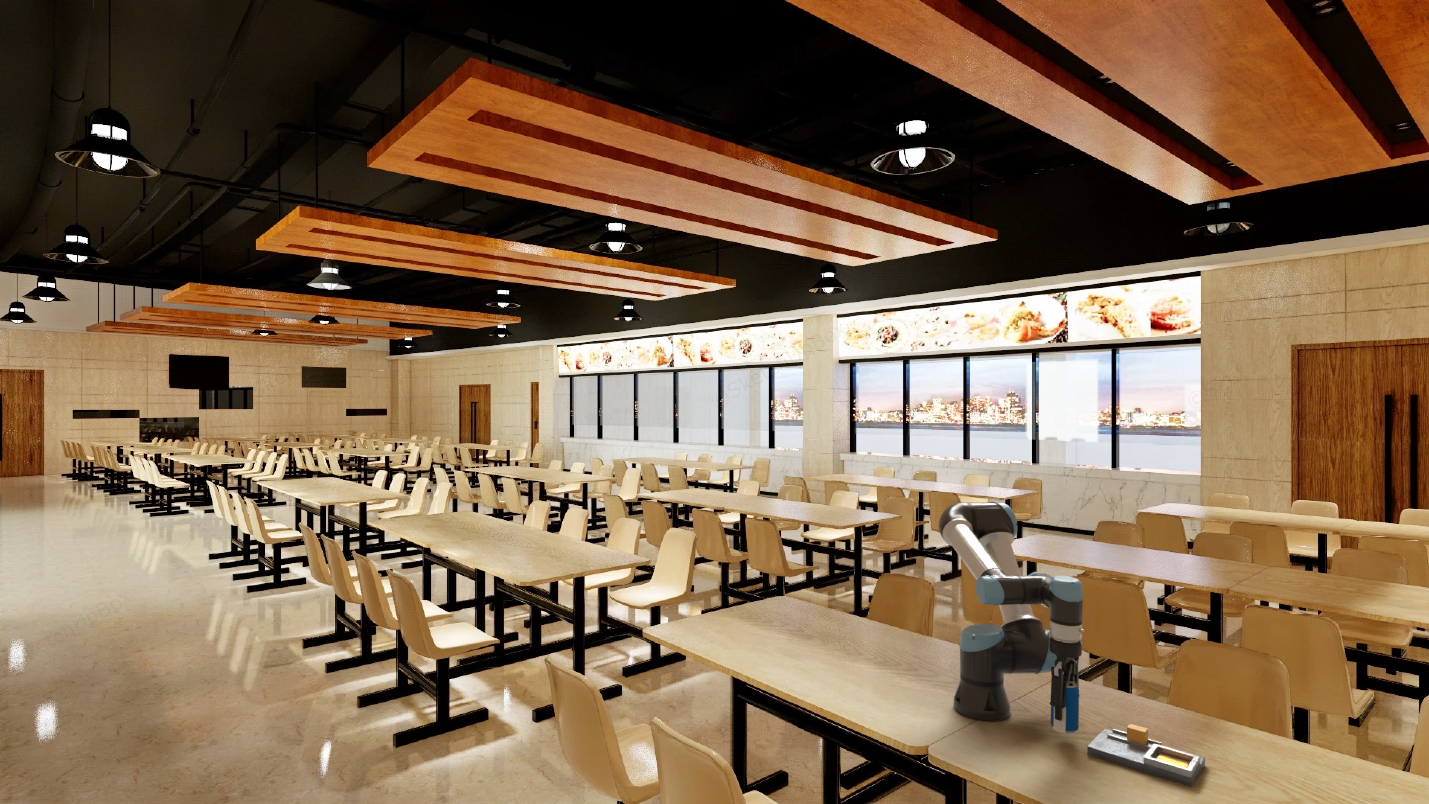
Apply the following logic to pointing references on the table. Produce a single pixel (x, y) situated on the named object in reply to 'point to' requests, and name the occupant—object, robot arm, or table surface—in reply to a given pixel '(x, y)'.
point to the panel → (1147, 757)
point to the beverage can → (1070, 708)
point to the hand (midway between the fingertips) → (1064, 726)
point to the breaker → (1137, 734)
